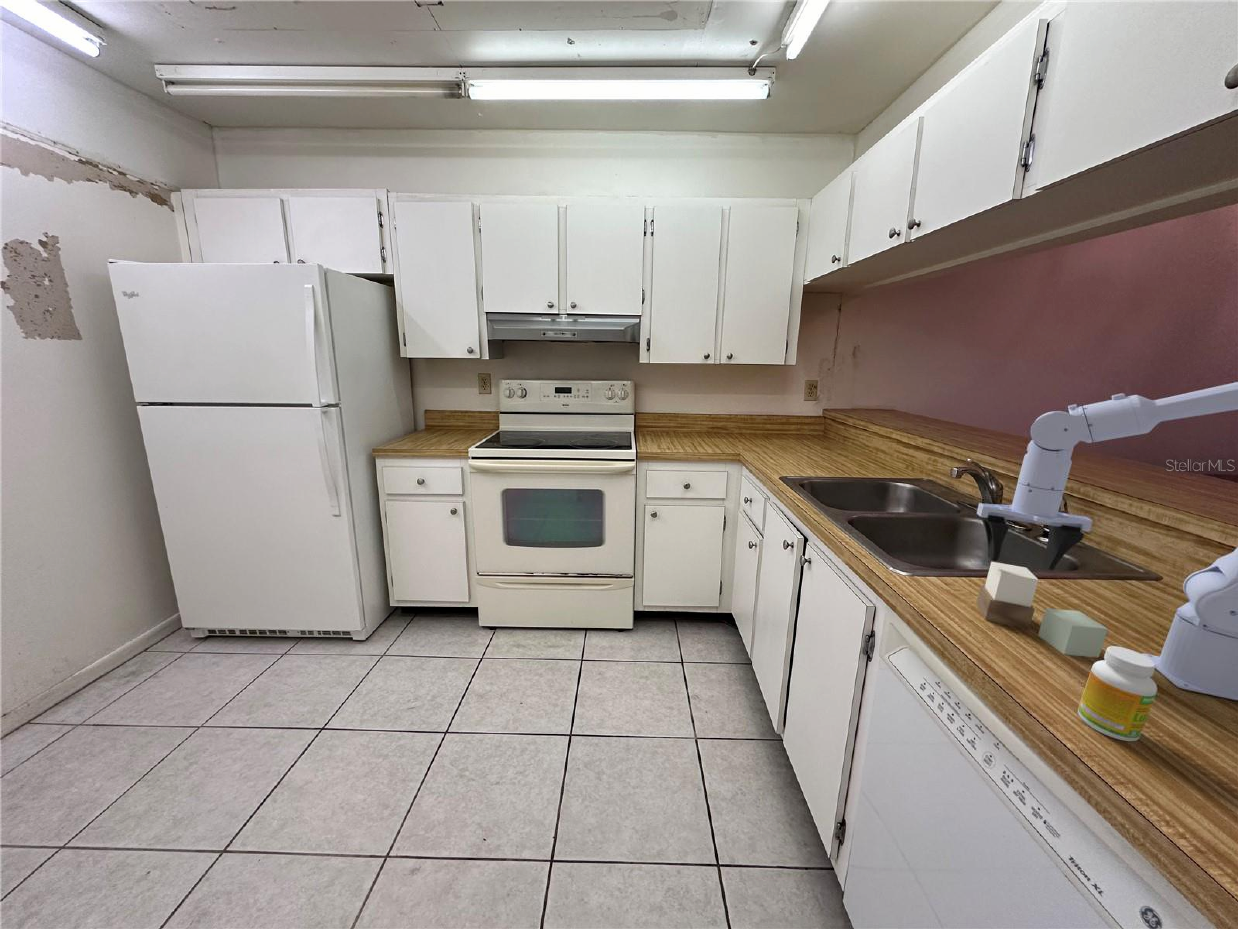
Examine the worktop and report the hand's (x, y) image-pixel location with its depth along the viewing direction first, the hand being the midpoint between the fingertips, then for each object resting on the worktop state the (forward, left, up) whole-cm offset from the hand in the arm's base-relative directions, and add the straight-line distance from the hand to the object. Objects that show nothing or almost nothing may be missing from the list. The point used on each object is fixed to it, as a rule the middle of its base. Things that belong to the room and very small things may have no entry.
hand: (1019, 563), depth 79 cm
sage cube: (-6, +6, -10) cm, 14 cm away
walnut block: (0, -1, -11) cm, 11 cm away
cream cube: (0, -1, -7) cm, 7 cm away
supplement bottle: (-2, +25, -11) cm, 28 cm away
